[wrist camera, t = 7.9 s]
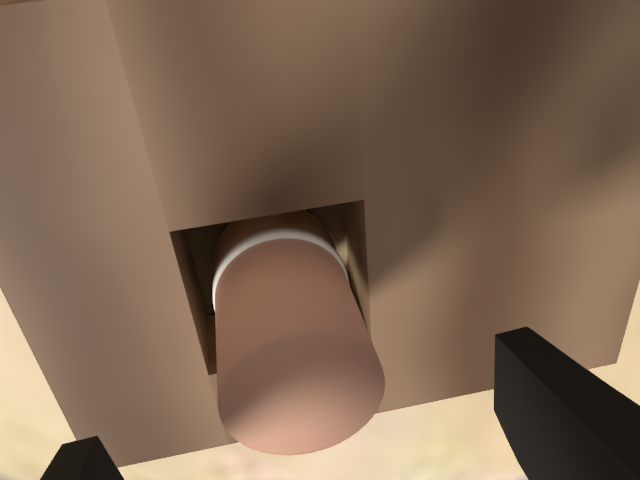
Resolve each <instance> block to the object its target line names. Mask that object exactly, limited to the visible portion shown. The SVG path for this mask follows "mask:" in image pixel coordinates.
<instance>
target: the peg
mask: <svg viewBox="0 0 640 480" xmlns="http://www.w3.org/2000/svg"><path fill="white" fill-rule="evenodd" d="M213 306H214V310H215V324H216V361H217V397H218V412H219V416H220V419H221V422H222V424H223V425H224V427H225V429H226V430H227V431H228V433H229V434H230V435H231V436H232V437H233V438H235V439H236V440H237V441H238V442H240V443H242V444H243V445H245V446H247V447H249V448H251V449H253V450H257V451H260V452H263V453H268V454H275V455H299V454H306V453H312V452H316V451H320V450H323V449H326V448H329V447H331V446H334V445H336V444H338V443H340V442H342V441H344V440H346V439H347V438H349V437H351V436H352V435H353V434H355V433H356V432H358V431H359V430H360V429H361V428H362V427H364V426H365V425H366V424H367V422H368V421H369V420H370V419H371V418H372V417H373V415H374V414H375V413H376V411H377V409H378V408H379V406H380V404H381V401H382V399H383V395H384V391H385V376H384V371H383V368H382V365H381V363H380V360H379V358H378V355H377V353H376V350H375V348H374V345H373V343H372V340H371V338H370V335H369V333H368V330H367V328H366V325H365V323H364V320H363V318H362V315H361V313H360V310H359V308H358V305H357V303H356V300H355V298H354V295H353V293H352V290H351V288H350V285H349V281H348V275H347V272H346V269H345V267H344V264H343V262H342V260H341V258H340V256H339V254H338V253H337V251H336V250H335V247H334V245H333V242H332V240H331V237H330V235H329V233H328V231H327V229H326V228H325V226H324V225H323V224H322V223H321V222H320V221H319V220H318V219H317V218H316V217H315V216H313V215H312V214H310V213H308V212H307V211H305V210H298V211H292V212H286V213H280V214H274V215H268V216H262V217H256V218H250V219H244V220H238V221H232V222H231V223H230V224H229V225H228V226H227V227H226V228H225V230H224V231H223V232H222V234H221V235H220V237H219V239H218V241H217V244H216V247H215V252H214V278H213Z"/></svg>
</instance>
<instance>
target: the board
mask: <svg viewBox="0 0 640 480" xmlns="http://www.w3.org/2000/svg"><path fill="white" fill-rule="evenodd" d="M341 203H344V206H345V220H346V234H347V248H348V262H349V275H350V288H351V290H352V293H353V295H354V298H355V300H356V303H357V305H358V308H359V310H360V313H361V315H362V318H363V320H364V323H365V325H366V328H367V330H368V333H369V335H370V338H371V340H372V343H373V345H374V348H375V350H376V353H377V355H378V358H379V360H380V363H381V365H382V368H383V371H384V376H385V391H384V395H383V399H382V401H381V404H380V406H379V408H378V409H377V411H376V413H381V412H386V411H390V410H395V409H400V408H405V407H409V406H414V405H419V404H424V403H429V402H433V401H438V400H443V399H448V398H452V397H457V396H462V395H467V394H472V393H476V392H481V391H486V390H491V389H494V360H495V334H499V333H503V332H507V331H510V330H514V329H518V328H522V327H526V326H527V327H529V328H530V329H532V330H533V331H535V332H536V333H537V334H539V335H540V336H542V337H543V338H544V339H546V340H547V341H548V342H550V343H551V344H553V345H554V346H555V347H557V348H558V349H559V350H561V351H562V352H564V353H565V354H566V355H568V356H569V357H570V358H572V359H573V360H575V361H576V362H577V363H579V364H580V365H582V366H583V367H584V368H586V369H591V368H596V367H601V366H606V365H610V364H615V363H617V359H618V355H619V352H620V348H621V345H622V341H623V337H624V334H625V330H626V327H627V323H628V319H629V316H630V312H631V308H632V305H633V301H634V298H635V294H636V290H637V287H638V283H639V280H640V0H0V288H1V290H2V292H3V294H4V296H5V298H6V300H7V302H8V304H9V306H10V308H11V310H12V312H13V314H14V316H15V318H16V320H17V322H18V324H19V326H20V328H21V330H22V332H23V334H24V336H25V338H26V340H27V342H28V344H29V346H30V348H31V350H32V352H33V354H34V356H35V358H36V360H37V362H38V364H39V366H40V368H41V370H42V372H43V374H44V376H45V378H46V380H47V382H48V384H49V386H50V388H51V390H52V392H53V394H54V396H55V398H56V400H57V402H58V404H59V406H60V408H61V410H62V412H63V414H64V416H65V418H66V420H67V422H68V424H69V426H70V428H71V430H72V432H73V434H74V436H75V438H76V440H77V441H78V440H81V439H85V438H89V437H93V436H98V437H99V439H100V440H101V442H102V444H103V445H104V447H105V449H106V450H107V452H108V454H109V455H110V457H111V459H112V460H113V462H114V464H115V465H116V467H117V468H118V467H122V466H127V465H132V464H137V463H141V462H146V461H151V460H156V459H161V458H165V457H170V456H175V455H180V454H185V453H189V452H194V451H199V450H204V449H208V448H213V447H218V446H223V445H228V444H232V443H237V442H238V441H237V440H236V439H235V438H233V437H232V436H231V435H230V434H229V433H228V431H227V430H226V429H225V427H224V425H223V424H222V422H221V419H220V416H219V412H218V397H217V361H216V324H215V315H209V316H208V313H207V310H206V306H205V302H204V298H203V294H202V290H201V286H200V282H199V278H198V274H197V270H196V266H195V262H194V258H193V255H192V251H191V247H190V243H189V239H188V235H187V231H186V229H189V228H195V227H201V226H207V225H213V224H219V223H225V222H232V221H238V220H244V219H250V218H256V217H262V216H268V215H274V214H280V213H286V212H292V211H298V210H304V209H310V208H316V207H323V206H329V205H335V204H341ZM376 413H375V414H376Z"/></svg>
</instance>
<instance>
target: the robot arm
mask: <svg viewBox="0 0 640 480" xmlns="http://www.w3.org/2000/svg"><path fill="white" fill-rule="evenodd" d="M494 411H495V413H496V416H497V418H498V420H499V422H500V424H501V427H502V429H503V431H504V433H505V435H506V438H507V440H508V442H509V444H510V446H511V448H512V450H513V452H514V454H515V457H516V459H517V461H518V463H519V464H520V466H521V468H522V469H523V471H524V473H525V474H526V476H527V478H528V479H529V480H640V406H639V405H638V404H636V403H635V402H633V401H632V400H631V399H629V398H628V397H626V396H625V395H623V394H622V393H620V392H619V391H617V390H616V389H614V388H613V387H611V386H610V385H608V384H607V383H606V382H604V381H603V380H601V379H600V378H598V377H597V376H596V375H594V374H593V373H591V372H590V371H589V370H587V369H586V368H584V367H583V366H582V365H580V364H579V363H577V362H576V361H575V360H573V359H572V358H570V357H569V356H568V355H566V354H565V353H564V352H562V351H561V350H559V349H558V348H557V347H555V346H554V345H553V344H551V343H550V342H548V341H547V340H546V339H544V338H543V337H542V336H540V335H539V334H537V333H536V332H535V331H533V330H532V329H530V328H529V327H527V326H526V327H522V328H518V329H514V330H510V331H507V332H503V333H499V334H495V360H494ZM40 480H124V478H123V477H122V475H121V473H120V472H119V470H118V469H117V467H116V465H115V464H114V462H113V460H112V459H111V457H110V455H109V454H108V452H107V450H106V449H105V447H104V445H103V444H102V442H101V440H100V439H99V437H98V436H93V437H89V438H85V439H81V440H78V441H74V442H70V443H66V444H62V446H61V447H60V449H59V450H58V452H57V453H56V455H55V457H54V458H53V460H52V461H51V463H50V464H49V466H48V468H47V469H46V471H45V472H44V474H43V476H42V477H41V479H40Z"/></svg>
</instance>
